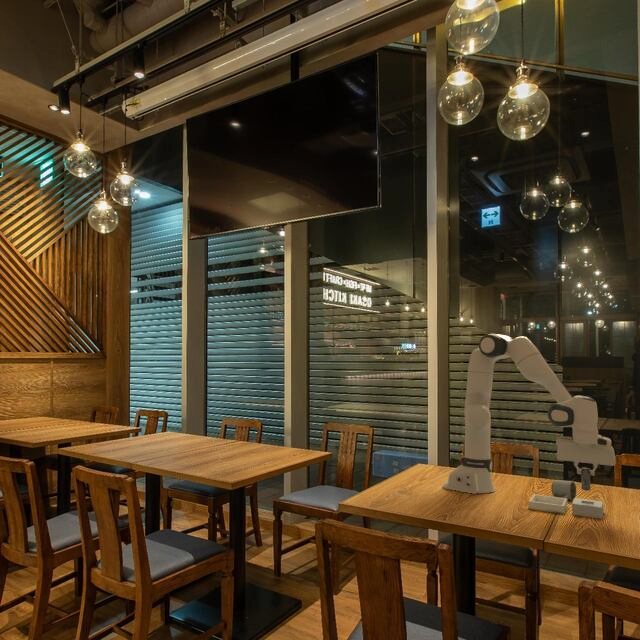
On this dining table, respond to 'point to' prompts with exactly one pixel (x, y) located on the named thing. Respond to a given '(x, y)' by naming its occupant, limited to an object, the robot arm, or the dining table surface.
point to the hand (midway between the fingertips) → (585, 474)
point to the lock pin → (585, 478)
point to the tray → (548, 504)
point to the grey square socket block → (587, 508)
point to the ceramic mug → (564, 489)
